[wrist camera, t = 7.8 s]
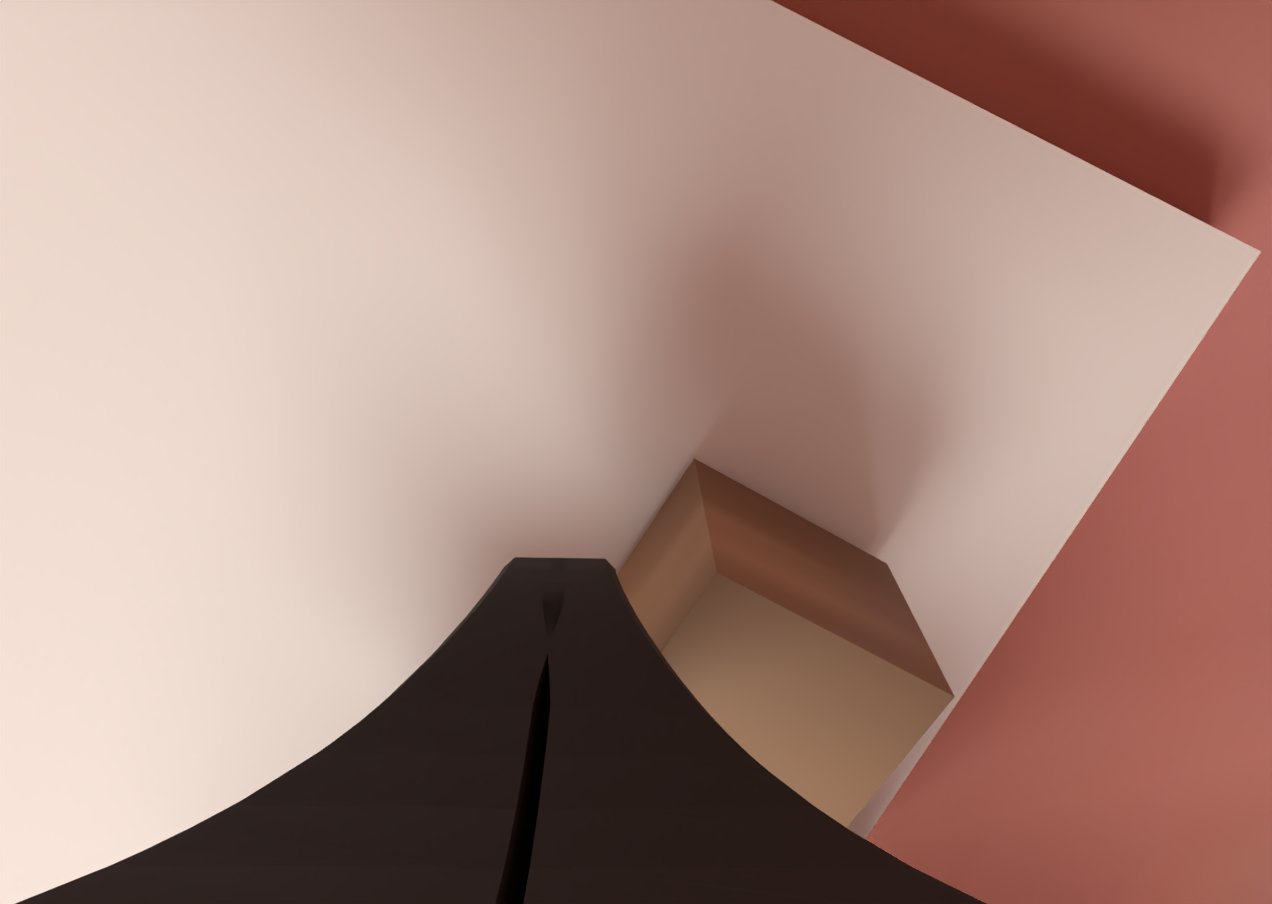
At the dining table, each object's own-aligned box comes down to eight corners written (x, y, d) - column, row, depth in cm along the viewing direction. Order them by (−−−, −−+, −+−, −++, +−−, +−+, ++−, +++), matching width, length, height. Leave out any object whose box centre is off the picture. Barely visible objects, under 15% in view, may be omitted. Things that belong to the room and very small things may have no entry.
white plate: (1210, 232, 14) (1261, 251, 13) (532, 1271, 22) (528, 1339, 21) (-126, -451, 11) (-206, -501, 10) (-373, 1033, 19) (-434, 1098, 18)
